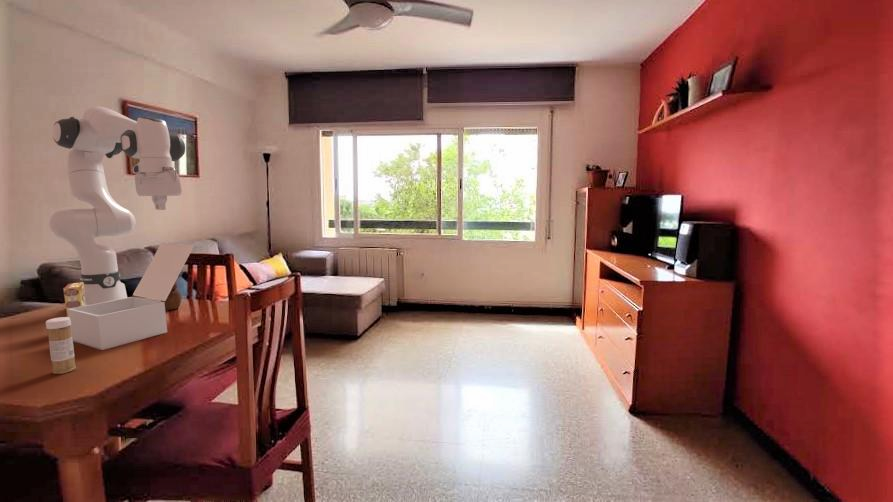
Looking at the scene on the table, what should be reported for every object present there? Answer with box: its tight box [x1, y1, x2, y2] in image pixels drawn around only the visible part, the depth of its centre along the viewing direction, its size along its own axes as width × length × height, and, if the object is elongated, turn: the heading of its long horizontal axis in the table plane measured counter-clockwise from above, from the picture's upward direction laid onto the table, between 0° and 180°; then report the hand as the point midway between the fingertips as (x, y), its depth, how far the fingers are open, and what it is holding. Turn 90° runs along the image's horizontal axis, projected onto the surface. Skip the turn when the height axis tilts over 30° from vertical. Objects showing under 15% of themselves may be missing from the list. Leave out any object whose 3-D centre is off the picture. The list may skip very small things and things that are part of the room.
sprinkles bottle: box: [45, 316, 77, 375], centre depth 108 cm, size 5×5×14 cm
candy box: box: [62, 282, 86, 317], centre depth 141 cm, size 9×4×15 cm, turn 33°
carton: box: [68, 296, 168, 351], centre depth 135 cm, size 18×18×10 cm
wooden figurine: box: [160, 281, 182, 311], centre depth 168 cm, size 7×6×15 cm
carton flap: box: [132, 242, 195, 301], centre depth 146 cm, size 18×20×1 cm
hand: (160, 209), depth 145 cm, fingers closed
